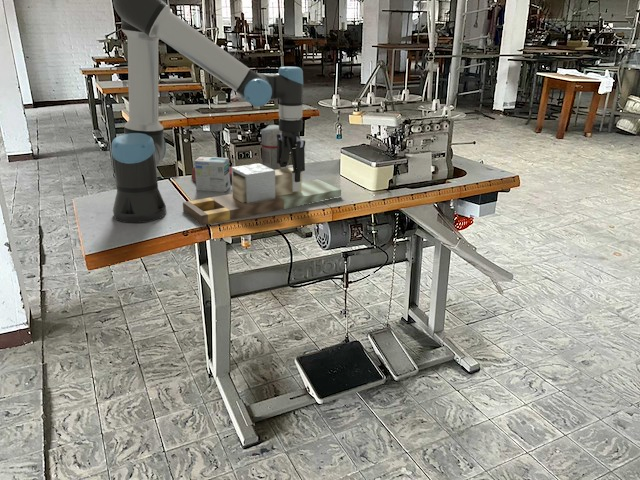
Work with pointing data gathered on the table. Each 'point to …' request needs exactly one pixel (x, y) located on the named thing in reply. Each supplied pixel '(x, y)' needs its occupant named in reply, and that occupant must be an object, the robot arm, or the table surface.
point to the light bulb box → (212, 174)
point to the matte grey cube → (256, 182)
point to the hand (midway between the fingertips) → (290, 188)
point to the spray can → (270, 147)
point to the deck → (232, 208)
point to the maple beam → (281, 184)
